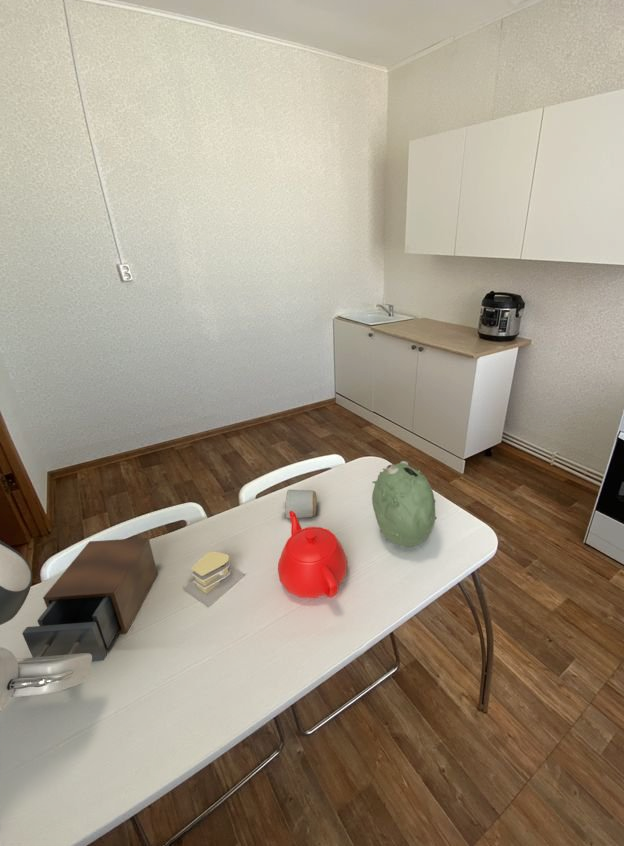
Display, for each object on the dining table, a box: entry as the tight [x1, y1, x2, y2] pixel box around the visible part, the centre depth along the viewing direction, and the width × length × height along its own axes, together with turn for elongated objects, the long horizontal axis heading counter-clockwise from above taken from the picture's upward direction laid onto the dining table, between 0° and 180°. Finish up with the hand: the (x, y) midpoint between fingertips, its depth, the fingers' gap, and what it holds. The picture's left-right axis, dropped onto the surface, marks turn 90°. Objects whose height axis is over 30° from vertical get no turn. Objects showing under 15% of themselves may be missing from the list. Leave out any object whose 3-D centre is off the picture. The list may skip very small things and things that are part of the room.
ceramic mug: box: [285, 489, 317, 519], centre depth 108 cm, size 11×8×8 cm
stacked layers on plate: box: [182, 551, 246, 608], centre depth 85 cm, size 10×9×6 cm
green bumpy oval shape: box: [371, 460, 437, 548], centre depth 95 cm, size 16×19×20 cm
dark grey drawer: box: [21, 596, 120, 662], centre depth 71 cm, size 18×11×9 cm, turn 4°
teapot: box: [277, 511, 348, 599], centre depth 86 cm, size 25×16×12 cm, turn 30°
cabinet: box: [42, 537, 159, 635], centre depth 79 cm, size 15×13×11 cm
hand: (46, 664), depth 62 cm, fingers closed on dark grey drawer, 6 cm apart
